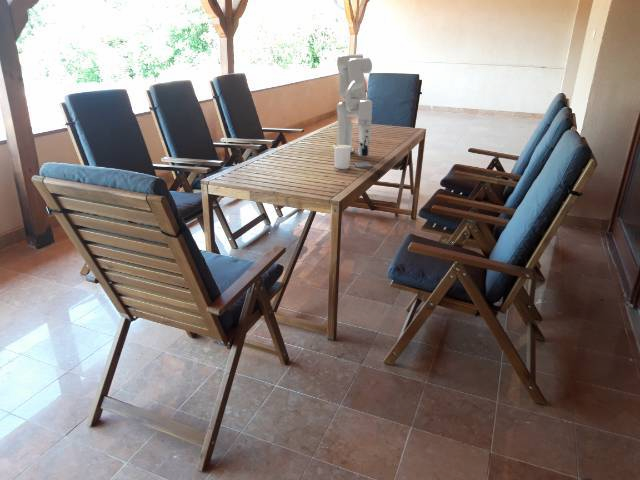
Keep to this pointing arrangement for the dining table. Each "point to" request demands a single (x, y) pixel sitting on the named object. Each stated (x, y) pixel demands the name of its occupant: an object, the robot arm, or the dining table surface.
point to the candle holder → (342, 156)
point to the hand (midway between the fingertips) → (363, 154)
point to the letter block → (361, 150)
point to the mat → (362, 165)
